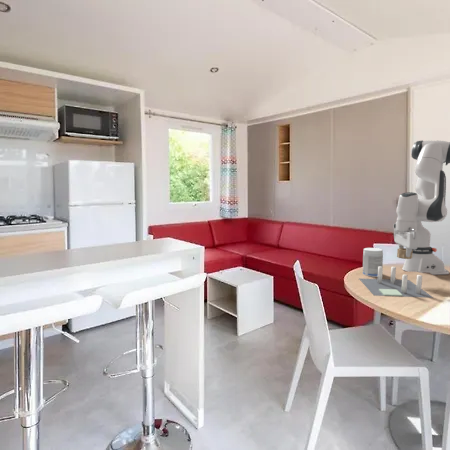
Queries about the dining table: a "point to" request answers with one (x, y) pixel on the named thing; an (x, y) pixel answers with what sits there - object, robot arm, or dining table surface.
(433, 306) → the dining table surface
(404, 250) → the ring
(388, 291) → the pad
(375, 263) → the supplement tub
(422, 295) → the board
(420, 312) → the dining table surface
